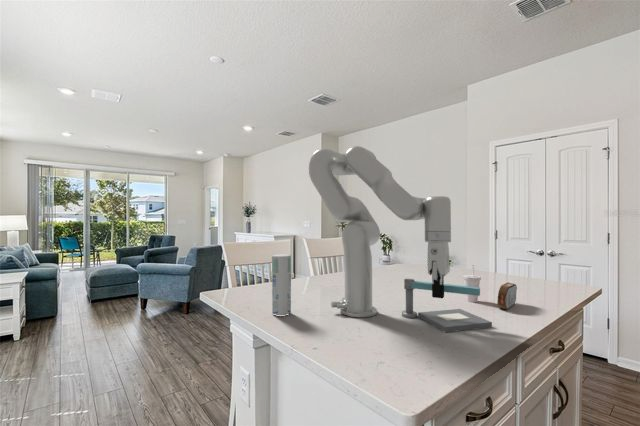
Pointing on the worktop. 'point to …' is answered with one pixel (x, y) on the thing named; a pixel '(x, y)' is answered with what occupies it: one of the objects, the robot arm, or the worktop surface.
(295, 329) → the worktop surface
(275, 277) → the spray can
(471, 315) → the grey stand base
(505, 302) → the tin
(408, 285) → the swing bar
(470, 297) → the smoothie
